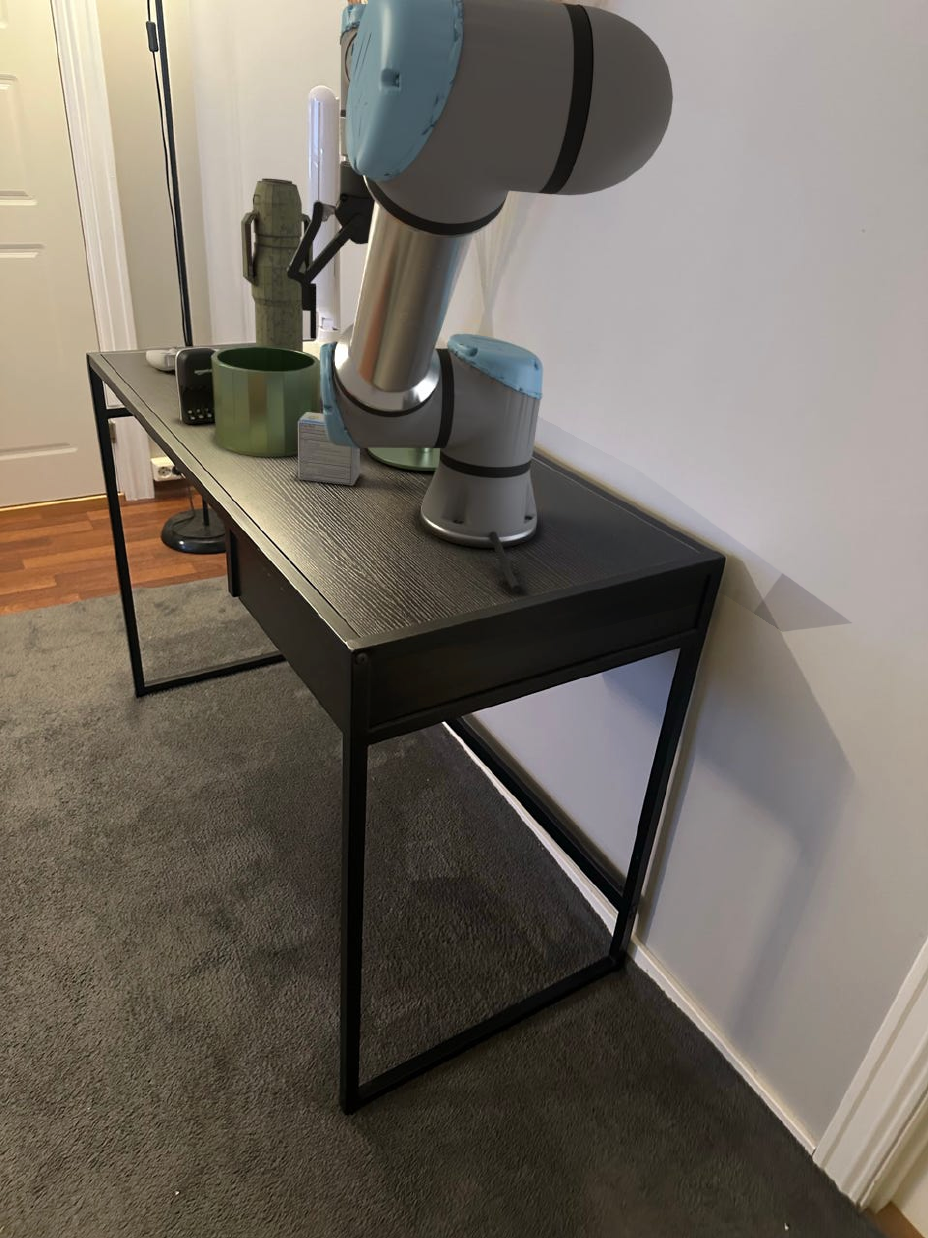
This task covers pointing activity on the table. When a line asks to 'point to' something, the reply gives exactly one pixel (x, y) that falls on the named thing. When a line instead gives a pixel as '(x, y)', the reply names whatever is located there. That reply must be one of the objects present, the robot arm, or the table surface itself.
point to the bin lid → (408, 457)
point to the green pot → (263, 398)
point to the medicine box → (324, 454)
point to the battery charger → (195, 385)
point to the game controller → (163, 358)
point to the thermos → (275, 262)
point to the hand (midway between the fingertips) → (364, 339)
